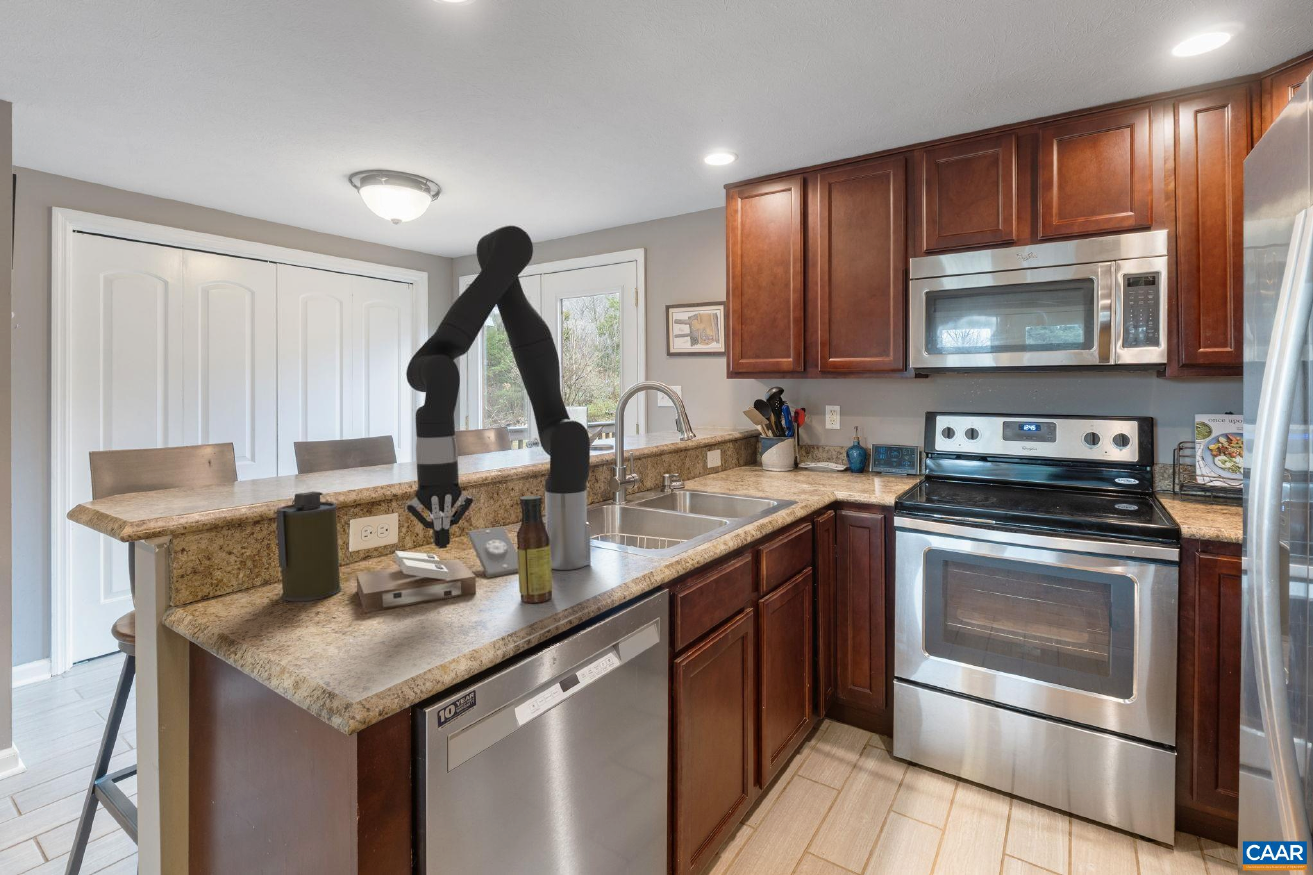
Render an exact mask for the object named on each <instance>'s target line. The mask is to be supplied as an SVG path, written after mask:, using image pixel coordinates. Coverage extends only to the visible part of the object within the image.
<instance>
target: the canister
mask: <svg viewBox="0 0 1313 875" xmlns="http://www.w3.org/2000/svg"><path fill="white" fill-rule="evenodd" d="M322 495H324V493H323V492H320V491H307V492H297V493H296V494H294V499H292V500H293V501H292V502H291V504H286V505H284V506H281V507H278V508H277V509H276V510H275V514H276V515H275V516H276V531H277V532H276V534H277V551H278V567H279V568H280V569H281V583H282V584H281V585H282V594H281V599H282V600H284V601H286V602H294V603H300V602H312V601H319V600H321V599H325V598H329V597H333V596H335V595H337V594H338V593H340V591H342V586H341V576H340V574H341V572H340V557H339V555H340V553H339V551H340V550H339V534H338V533H339V532H338V512H337V508H338V505H339V504H337V503H336V502H332V501H321V496H322Z"/></svg>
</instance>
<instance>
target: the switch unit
mask: <svg viewBox="0 0 1313 875" xmlns="http://www.w3.org/2000/svg"><path fill="white" fill-rule="evenodd" d="M439 565H443V566H444V567H445V568H446V569H447V570H448V571H449V573H448V576H447V580H444V579H437V578H430V577H424V576H417V575H410V574H404V573H403V571H402V570H401V568H400V566H399V567H395V568H394V567H393V568H386V569H379V570H373V571H367V572H366V571H365V572H359V573H356V574H355V575H356V591H357V594H358V597H359V600H360V602H361V606H362V607H363V611H364V613H370V612H371V613H372V612H377V611H383V610H388V609H394V608H399V607H405V606H410V605H416V604H423V603H427V602H433V601H439V600H446V599H451V598H457V597H464V596H469V595H474V594H475V595H476V594H477V586H476V585H477V584H476V583H477V582H476V580H477V579H476V578H477V577H476V575H475V574H474V573H473V572H472V571H471V570H470V569H469V568H468V567H467V566H466V564H464V563H463V562H462V561H461V560H460V559H458V558H457V559H450V560H449V559H448V560H442V561H440V563H439Z"/></svg>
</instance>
